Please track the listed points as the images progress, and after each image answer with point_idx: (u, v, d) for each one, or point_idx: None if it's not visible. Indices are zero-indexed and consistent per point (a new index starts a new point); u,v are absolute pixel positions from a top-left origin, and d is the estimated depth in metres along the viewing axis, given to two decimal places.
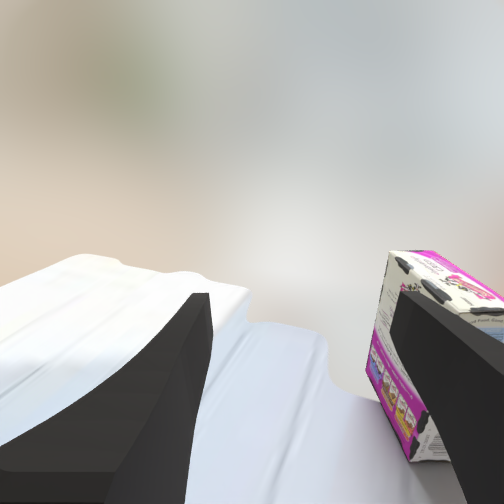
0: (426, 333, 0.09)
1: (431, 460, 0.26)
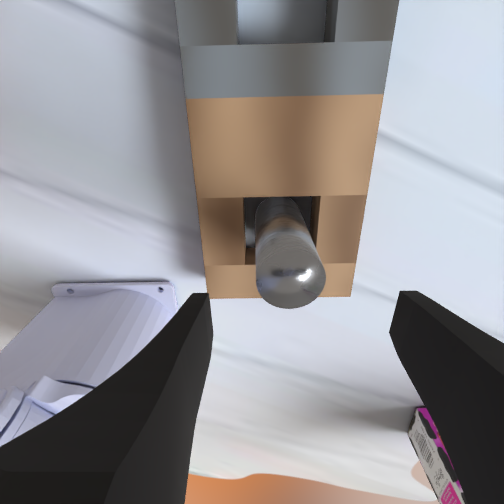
0: (426, 333, 0.09)
1: (413, 421, 0.31)
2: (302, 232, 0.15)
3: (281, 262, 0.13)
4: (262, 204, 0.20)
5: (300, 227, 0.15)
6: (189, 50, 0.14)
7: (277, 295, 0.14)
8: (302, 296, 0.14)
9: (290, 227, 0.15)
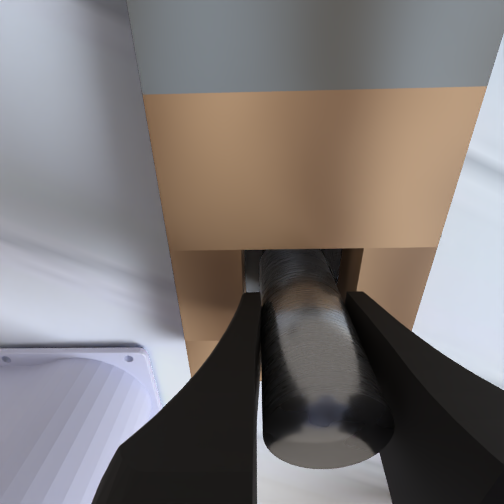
0: (364, 334, 0.09)
1: None
2: (342, 325, 0.09)
3: (311, 409, 0.07)
4: (270, 251, 0.13)
5: (337, 311, 0.09)
6: (144, 6, 0.08)
7: (301, 452, 0.08)
8: (346, 453, 0.08)
9: (322, 316, 0.09)
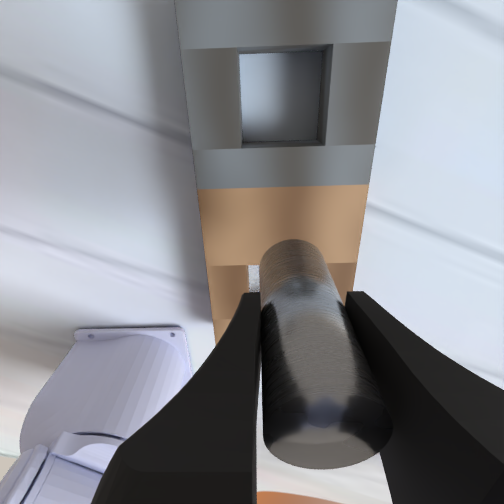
0: (364, 334, 0.09)
1: None
2: (341, 327, 0.09)
3: (310, 410, 0.07)
4: (270, 253, 0.13)
5: (336, 313, 0.09)
6: (200, 153, 0.16)
7: (301, 453, 0.08)
8: (346, 454, 0.08)
9: (321, 318, 0.09)
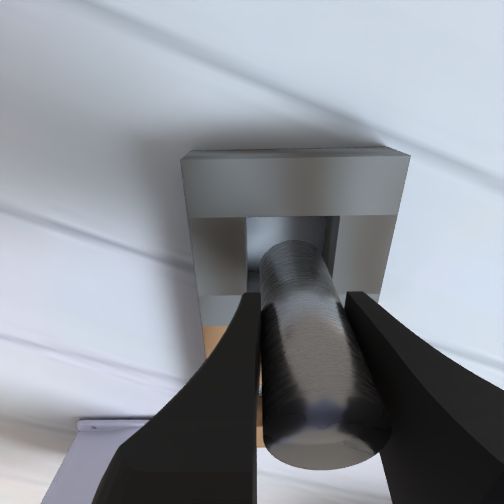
0: (364, 334, 0.09)
1: None
2: (340, 328, 0.09)
3: (309, 411, 0.07)
4: (270, 254, 0.13)
5: (335, 314, 0.09)
6: (206, 298, 0.16)
7: (301, 454, 0.08)
8: (345, 455, 0.08)
9: (320, 319, 0.09)
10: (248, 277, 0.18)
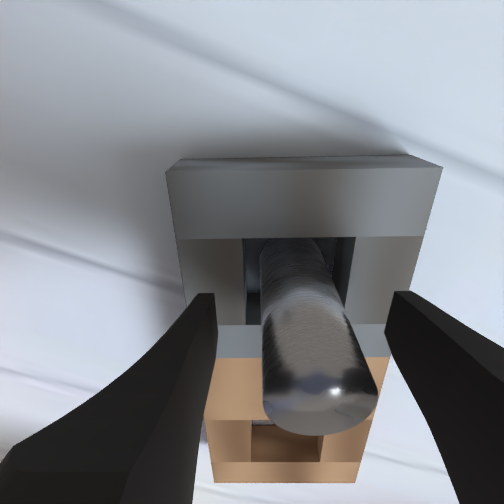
0: (420, 333, 0.09)
1: None
2: (333, 308, 0.10)
3: (304, 378, 0.08)
4: (269, 245, 0.14)
5: (329, 297, 0.10)
6: None
7: (297, 419, 0.09)
8: (337, 420, 0.09)
9: (315, 300, 0.10)
10: (247, 301, 0.16)
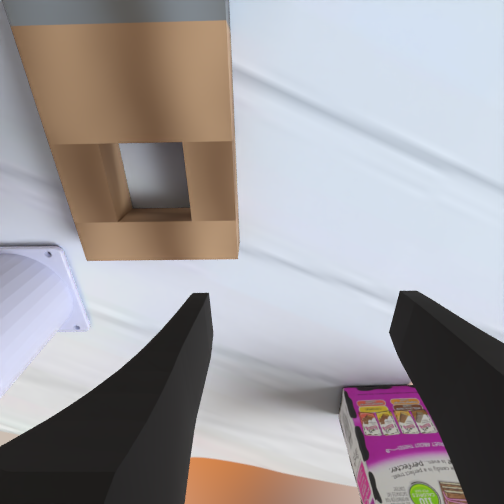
0: (426, 333, 0.09)
1: (341, 402, 0.29)
2: None
3: None
4: None
5: None
6: None
7: None
8: None
9: None
10: None
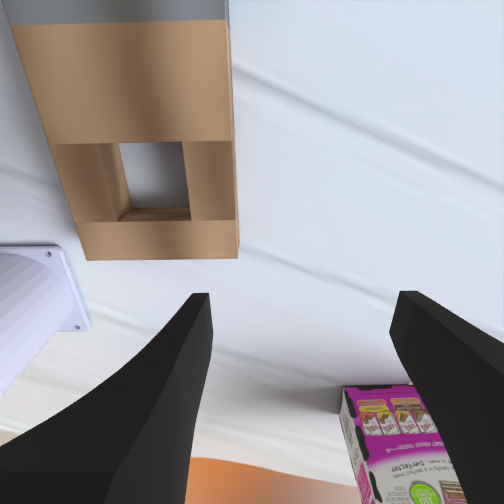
0: (426, 333, 0.09)
1: (341, 402, 0.29)
2: None
3: None
4: None
5: None
6: None
7: None
8: None
9: None
10: None
